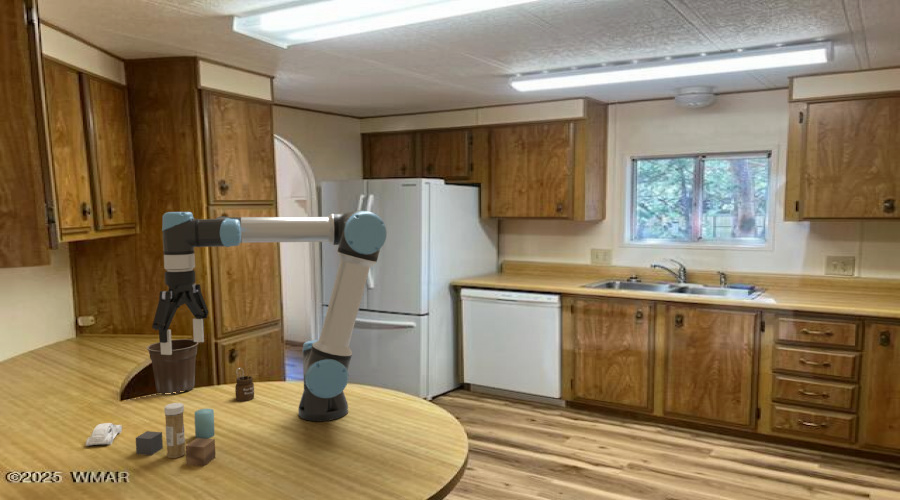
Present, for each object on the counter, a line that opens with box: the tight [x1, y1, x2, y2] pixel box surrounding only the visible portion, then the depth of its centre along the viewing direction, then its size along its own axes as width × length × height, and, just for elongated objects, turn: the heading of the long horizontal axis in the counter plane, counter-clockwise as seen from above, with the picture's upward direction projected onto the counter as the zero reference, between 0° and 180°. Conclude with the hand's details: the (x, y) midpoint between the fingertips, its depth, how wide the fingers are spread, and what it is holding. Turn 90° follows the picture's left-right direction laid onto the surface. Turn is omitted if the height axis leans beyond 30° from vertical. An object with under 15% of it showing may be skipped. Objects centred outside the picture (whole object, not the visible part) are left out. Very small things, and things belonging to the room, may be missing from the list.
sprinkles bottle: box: [163, 402, 186, 459], centre depth 157 cm, size 5×5×14 cm
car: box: [85, 422, 123, 447], centre depth 168 cm, size 12×6×5 cm, turn 10°
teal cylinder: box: [194, 408, 216, 439], centre depth 170 cm, size 5×5×7 cm
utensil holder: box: [234, 360, 255, 402], centre depth 201 cm, size 6×6×12 cm
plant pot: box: [146, 338, 199, 395], centre depth 210 cm, size 16×16×16 cm
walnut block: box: [185, 437, 216, 467], centre depth 154 cm, size 5×5×5 cm
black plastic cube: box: [135, 430, 164, 456], centre depth 160 cm, size 4×4×4 cm
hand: (183, 347), depth 162 cm, fingers open, 13 cm apart
